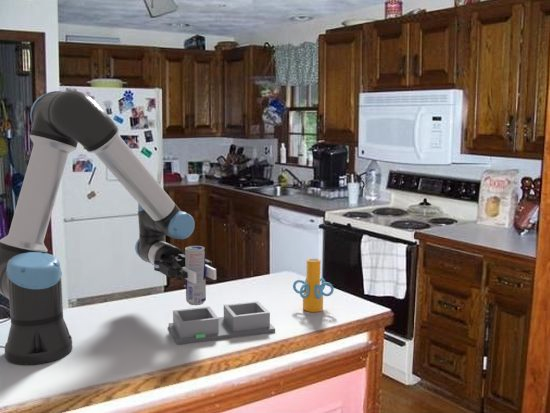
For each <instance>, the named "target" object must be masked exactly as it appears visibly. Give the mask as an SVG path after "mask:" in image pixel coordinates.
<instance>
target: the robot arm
mask: <svg viewBox="0 0 550 413" xmlns="http://www.w3.org/2000/svg"><path fill="white" fill-rule="evenodd" d="M29 116H30V121H31V124H32V126H31V130H30V133H29V138H30V140H31V141H32V143H33V145H32V150H31V154H30V157H29V159H28V160H29V161H28V164H27V168H26V171H25V174H24V179H23V182H22V185H21V189H20V191H19V196H18V198H17V203H16V206H15V210H14V214H13V217H12V220H11V224H10V228H9V231H8V234H7V235H5V236H4V237H2V238H1V239H0V295H2V296H3V297H5V298H6V299H8V300H9V313H10V328H9V331H8V335H7V340H6V343H5V345H4V357H5V360H6V361H8V362H9V363H12V364H14V365H15V364H16V365H25V366H26V365H38V364H45V363H50V362H53V361H56V360H60V359H61V358H62V359H63V358H64V357H65V356H67V355H68V354H70V353H71V352H72V350H73V338H72V336H71V334H70V331H69V329H68V327H67V326H68V325H67V324H66V323H67V322H65V319H64V308H63V307H64V306H63V304H64V303H63V288H62V287H63V284H62V273H63V272H62V268H61V263H60V260H59V259H58V258H57V257H56V256H55V255H54V254H50V253H48V251H49V250H48V248H47V247H46V245H45V242H44V241H45V238H46V234H47V231H48V227H49V224H50V220H51V216H52V214H53V209H54V206H55V202H56V198H57V195H58V191H59V188H60V184H61V181H62V177H63V174H64V170H65V167H66V163H67V160H68V156H69V154H70V153H72V152H74V151H75V150H77V146H78V143H79V144H80V145H81V146H82V147H83V148H84V149H85V150H86V151H87V152H88V153H92V154H93V153H94V154H95V156H96V157H97V158H98V159H99V160H100V161H101V162H102V163H103V164H104V166H105V167H106V168H107V170H109V171H110V172H111V174H112V175H113V177H115V178H116V180H117V181H118V182H119V183H120V184H121V185H122V187H124V188H125V190H126V191H127V192H128V193H129V194H130V196H132V198H133V199H134V200H135V202H137V206H138V208H137V210H138V211H137V215H138V232H139V233H138V234H139V238H138V239H137V241H136V243H135V246H134V249H135V253H136V255H137V256H138V257H139V258H140V259H141V260H143V262H145V263H149V264H151V265H153V270H154V271H155V272H158V273H159V272H160V273H161V274H163V275H164V276H166V277H169V278H171V279H173V278H175V277H176V280H177V281H182V279H184V280H185V281H186V280H188V281H190V282H192V283H193V284H195V283H197V280H196V272H194V271H192V270H190V269H187V268H186V267H185V253H183V250H182V249H181V248H179V247H177V246H175V245H174V244H171V243H168V242H166V236H167V237H170V238H172V239H175V240H177V239H179V240H185V239H187V238H189V237H190V236H192V234H193V232H194V230H195V226H196V225H195V224H196V223H195V219H194V218H193V216H192V215H191V214H190V213H187V212H186V211H183V210H181V209H180V208H179V207H178V204H176V203H175V202H174V200H173V199H172V198H171V197H170V195H169V194H168V193H167V192H166V190H164V189H163V187H162V186H161V185H160V183H158V181H157V179H155V177H154V176H153V175H152V174H151V172H150V171H149V170H148V169H147V167H146V166H145V164H143V163H142V162H141V160H140V159H139V158H138V157H137V155H136V154H135V153H134V151H133V150H132V149H131V148H130V147H129V146H128V144H127V143H126V142H125V141H124V139H123V138H122V137H121V136H120V134H119V130H120V128H119V126H118V125H117V124H116V123H115V122H114V120H113V119H112V118H111V117H110V116H109V115H108V113H107V112H106V111H105V110H104V108H102V107H101V105H99V103H98V102H97V101H96V100H95V99H93V98H92V97H91V96H90V95H88V94H86V93H84V92H81V91H78V90H66V91H65V90H64V91H61V90H55V91H49V92H47V93H44V94H42V95H40V96H39V97H37V98H36V99H35V101H34V102H33V104H32V105H31V108H30V114H29ZM205 277H207V278H209V279H211V280H213V281H215V280H217V268H214V267H213V261H211V260H209V259H206V258H205Z"/></svg>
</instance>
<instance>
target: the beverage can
mask: <svg viewBox="0 0 550 413" xmlns="http://www.w3.org/2000/svg"><path fill="white" fill-rule="evenodd" d="M184 249H185V250H184V255H185V267H186V268H187V269H190V270H192V271H194V272H196V280H197V283H195V284H193V283H192V282H190V281H188V280H186V279H185V297H186V298H185V299H186V302H187V303H188V304H189V305H191V306H201V305H204V303H205V302H206V300H207V294H206V293H207V291H206V290H207V287H206V286H207V284H206V276H205V259H206V251H205V247H204V246H201V245H189V246H186V247H185V248H184Z"/></svg>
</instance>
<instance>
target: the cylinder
mask: <svg viewBox="0 0 550 413" xmlns="http://www.w3.org/2000/svg"><path fill="white" fill-rule="evenodd" d="M321 282H322V283H321ZM298 283H302V285H301V286H300V289H299V290H298V289H297V288H296V286H297V284H298ZM326 286H329V287H330V291H329V293H325V292H324V290H325V287H326ZM292 289H293V290H294V292H295V293H297V294H299V296H300V298H302V310H303V311H305V312H309V313H318V312H321V311H323V309H324V297H330V296H332V294H334V290H335V289H334V286H333V284H332V283H331V282H328V281H326V280H325V278H323V277H321V259H320V258H314V257H311V258H307V259H306V278H305V280H303V279H297V280H295V281H294V282H293V285H292Z"/></svg>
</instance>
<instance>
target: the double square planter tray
mask: <svg viewBox="0 0 550 413" xmlns="http://www.w3.org/2000/svg"><path fill="white" fill-rule="evenodd" d="M270 317H271V312H270V311H269V310H268V309H266V307H265V306H264V305H263V304H261V303H260V301H259V300H257V301H256V300H255V301H249V302H248V301H247V302H239V303H230V304H223V316H221V317H220V316H219V317H218V316H217V315H216V312H214V310H213V309H212V308H211V307H210V306H202V307H193V308H185V309H175V310H172V322H168V328H170V329H169V330H171V331H170V332H171V334H172V337H173V339H174V340H175V343H176V345H179V346H180V345H186V344H187V343H188V344H194V343H202V342H208V341H217V340H224V339H233V338H240V337H241V338H242V337H249V336H256V335H263V334H271V333H272V334H273V333H276V328H275V327H274V326H273V325H272V324H271V318H270Z"/></svg>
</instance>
